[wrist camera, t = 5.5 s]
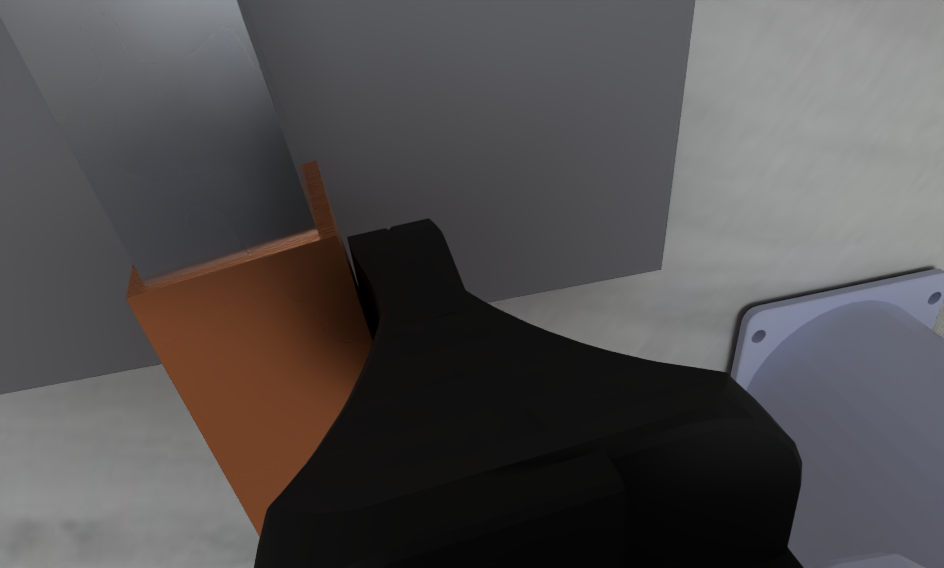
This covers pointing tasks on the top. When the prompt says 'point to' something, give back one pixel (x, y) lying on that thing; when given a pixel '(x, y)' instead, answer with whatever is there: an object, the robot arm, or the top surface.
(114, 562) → the top surface
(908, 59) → the top surface
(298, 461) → the valve lever
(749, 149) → the top surface
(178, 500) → the top surface
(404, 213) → the mounting board
